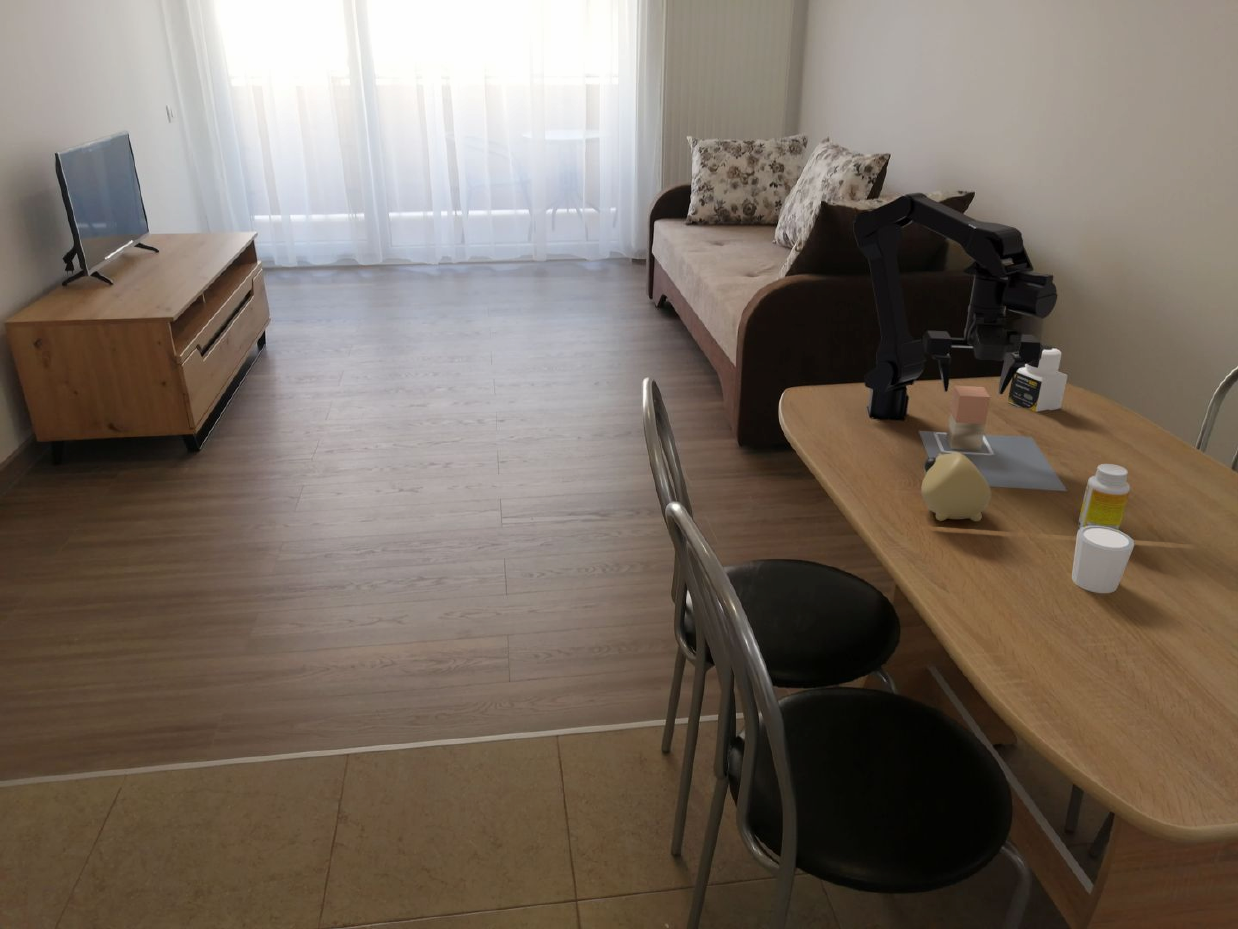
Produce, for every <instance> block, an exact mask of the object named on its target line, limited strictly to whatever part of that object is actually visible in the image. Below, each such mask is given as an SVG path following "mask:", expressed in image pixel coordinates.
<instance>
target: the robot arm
mask: <svg viewBox="0 0 1238 929" xmlns="http://www.w3.org/2000/svg"><path fill="white" fill-rule="evenodd" d="M913 222H914V223H916V224H918V225H920V226H922V227H924V228H926V229H929V230H930V231H932V232H934V233H936V234H938V235H940V236H942V237H944V238H947V239H948V240H950V241H953V242H955V243H957V244H958V246H960V247H962V249H963V252H964V253H965V255H967V256H968V257H969V258H970V259H972V260H973V262H972V263H971V264H970V265H969V266H967V267H965V268H964V269H963V270H962V273H963V274H964V275H968V276H973V283H972V289H971V295H970V299H969V300H970V302H969V305H968V308H967V312H968V313H967V319H966V320H967V321H966V325H965V328H964V332H963V335H964V337H951V336H950V334H949V332H948V331H946V330H945V331H944V330H943V331H942V330H926V331H925V332H924V333H923V335H922V338H921V339H919V340H918V339H917V340H915V338H914V337H913V336H912V334H911V333H910V330H909V324H908V318H907V314H906V312H907V311H906V307H905V301H904V300H905V299H904V293H903V288H902V280H901V274H900V270H899V269H900V268H899V264H898V263H899V262H898V251H899V248H900V246H901V242H902V240H903V239H902V238H903V236H902V235H903V234H902V233H903V232H902V230H903V228H905V227H906V226H909V225H910V224H912V223H913ZM852 228H853V234H854V237H855V240H856V244H857V247H858V249H859V250H860V251H861V253H862V254H863V255H864V256H865V258H866V260H868V264H869V269H870V275H871V282H872V287H873V288H872V289H873V293H874V299H875V305H876V311H877V318H878V322H879V330H880V335H881V339H880V341H879V345H878V348H877V351H876V356H875V357H876V366H875V367H874V368H872V369H871V370H870V371H868V372H867V373H866V374H864V375H863V381H864V386H865V388H868V389H870V392H869V399H868V400H869V401H868V405H867V406H866V410H867V413H868V418H869V419H871V420H884V421H886V420H887V421H888V420H889V421H901V422H902V421H905V417H906V416H907V415H908V414H907V412H908V405H909V400H910V395H909V393H908V388H907V387H909V386H913V385H914V384H915V382H916V380H917V379H918V378H919V377H920V376H921V374H922V373H923V372H924V370H925V362H927V360H928V359H927V357H926V355H928V356H931V358H932V359H933V360H936V361H937V364H938V367H939V372H940V377H941V381H942V386H943V390H944V392H945V393H947V392H948V390H949V384H950V370H951V369H950V366H951V362H952V356H951V355H950V353H951V352H952V350H964V351H965V350H966V351H967V350H971V351H973V352H974V353H973V355H974V358H975V359H977V360H979V361H985V360H989V361H990V360H993V361H996V362H997V361H998V362H1002V361H1003V365H1002V370H1001V374H1000V378H999V384H998V394H999V395H1003V393H1004V392H1005V391H1006V389H1007V387H1008V386H1009V384H1010V382H1011V381H1012V378H1013V376H1014V375H1015V373H1016V372H1017V371H1018V369H1019V368H1023V367H1024V366H1025V364H1030V363H1031V362H1032V360H1040V359H1041V356H1042V351H1043V346H1042V345H1043V344H1042V343H1041V342H1040V341H1039V339H1037V337H1036V336H1035V335H1034V334H1023V333H1022V330H1019V329H1007V328H1006V320H1007V319H1006V317H1007V316H1006V310H1008V311H1010V312H1014V313H1016V314H1017V313H1018V314H1021V315H1025V316H1030V317H1033V318H1037V319H1042V320H1043V319H1045V318H1046V317H1048V316H1050V314H1051V313H1052V312H1053V310H1054V308H1055V306H1056V304H1057V301H1058V293H1057V287H1056V285H1055V283H1053V282H1054V275H1053V274H1049V273H1038V272H1034V266H1033V264H1032V262H1031V260H1030V257H1029V255H1028V253H1027V250H1026V248H1025V245H1024V239H1023V237H1022V236H1023V235H1022V232H1021V231H1020V230H1019V229H1017V228H1016V227H1013V226H1009V225H1005V224H1001V223H996V222H987V221H981V220H977V219H975V218H972V217H970V216H968V215H966V214H964V213H962V212H960V211H959V210H955V209H953V208H952V207H950V206H947V205H945V204H942V203H941V202H939V201H936V200H934V199H931V198H930V197H928V196H927V195H926V194H924V193H923V192H911V193H906V194H901V196H899V197H897V198H896V199H894V200H892V201H890V202H887V203H885V204H883V205H881V206H878V207H877V208H874V209H869V210H867V209H866V210H862V211H860V212H859V214H858V215H856V218H855V220H853V222H852ZM1011 262H1012V263H1011ZM1007 263H1011V264H1007ZM1004 264H1005V265H1004ZM1006 264H1007V265H1006Z"/></svg>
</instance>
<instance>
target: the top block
mask: <svg viewBox="0 0 1238 929" xmlns="http://www.w3.org/2000/svg"><path fill="white" fill-rule="evenodd" d="M985 388H986V387H984V386H972V385H971V386H970V385H966V386H965V385H954V386H953V390H952V391H953V392H952V397H951V404H950V409H949V410H950V411H949V414H950V413H951V415H952V417H953V419H954V421H955V422H956V423H974V424H985V425H986V423H987V417H988V413H989V412H988V410H989V406H990V400H991V396H990V395H989V393H988V392H987V390H986V389H985Z"/></svg>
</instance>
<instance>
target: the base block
mask: <svg viewBox="0 0 1238 929" xmlns="http://www.w3.org/2000/svg"><path fill="white" fill-rule="evenodd" d="M947 425H948V426H947V431H946V432H947V435H946V438H947V441H948V443H949V445H950V447H951V449H965V450H981V445H982V440H983V434H985V429H986V423H985V424H974V423H956V422H955V421H954V419H953V417H952V415H951V413H950V412H949V418H948V423H947Z"/></svg>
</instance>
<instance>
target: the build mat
mask: <svg viewBox="0 0 1238 929" xmlns="http://www.w3.org/2000/svg"><path fill="white" fill-rule="evenodd" d="M918 434H919V437H920V439H921V441H922V443H923V444H922V445H923V447H924V448H925V451H926V454H927V457H928V459H929V458H932V457H935V458H937V457H938V454H942V455H944V454H951V453H955V452H959V453H961V454H963V455H964V456H966V457H967V458H969V459H970V460H971V461H972V463H973V464H974V465H975V466H976V468H977V469H978V470H979V471H980V473H981V474H982V475H983V477H984V478H985V480H986V481H987V483H988V485H989V487H990V488H991V487H992V488H996V487H997V488H1009V489H1023V490H1024V489H1025V490H1039V491H1040V490H1041V491H1055V492H1056V491H1058V492H1068V490H1067V489H1066V487H1065V485H1064V484H1063V483H1062V481H1061V479H1060V478H1059V476H1058V475H1057V473H1056V471H1054V468H1053V467H1052V465H1051V464H1050V463H1049V461H1048V459H1047V458H1046V457H1045V455H1044V454H1043V451H1041V449H1040V448H1039V446H1038V444H1037V443H1036V441H1035V440H1034V439H1033V437H1032V436H1021V435H1019V436H1018V435H1017V436H1016V435H1003V434H1002V435H1000V434H986V433H984V434H983V440H982V445H981V450H965V449H951V447H950V445H949V443H948V441H947V438H946V435H947V431H946V432H945V431H929V430H918Z"/></svg>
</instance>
